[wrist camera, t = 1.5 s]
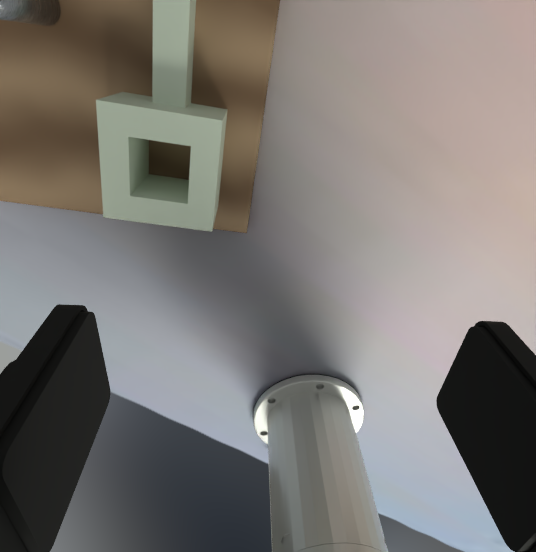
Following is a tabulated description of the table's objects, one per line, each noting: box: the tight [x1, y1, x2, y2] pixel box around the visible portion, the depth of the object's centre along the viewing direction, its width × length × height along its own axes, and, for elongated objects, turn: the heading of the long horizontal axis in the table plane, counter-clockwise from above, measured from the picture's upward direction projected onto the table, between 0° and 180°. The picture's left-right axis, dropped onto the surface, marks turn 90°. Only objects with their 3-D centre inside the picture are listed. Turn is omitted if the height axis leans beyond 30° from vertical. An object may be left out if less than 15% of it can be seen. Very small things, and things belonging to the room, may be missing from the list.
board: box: [0, 0, 280, 233], centre depth 24 cm, size 22×22×1 cm
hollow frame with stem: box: [96, 0, 228, 232], centre depth 23 cm, size 14×7×5 cm, turn 171°
